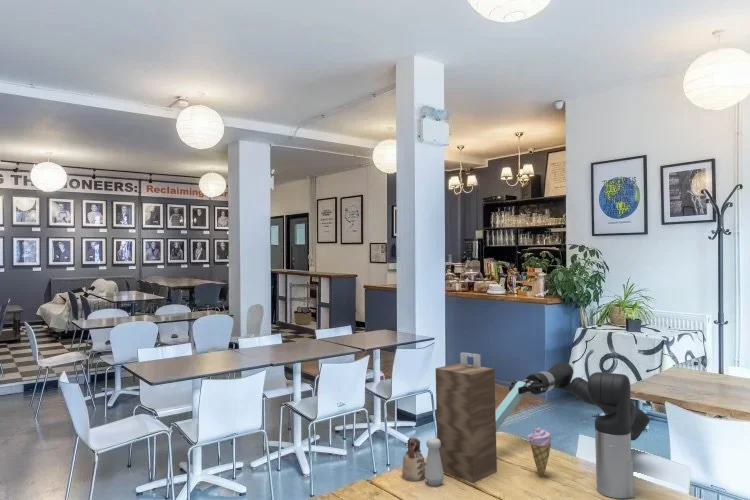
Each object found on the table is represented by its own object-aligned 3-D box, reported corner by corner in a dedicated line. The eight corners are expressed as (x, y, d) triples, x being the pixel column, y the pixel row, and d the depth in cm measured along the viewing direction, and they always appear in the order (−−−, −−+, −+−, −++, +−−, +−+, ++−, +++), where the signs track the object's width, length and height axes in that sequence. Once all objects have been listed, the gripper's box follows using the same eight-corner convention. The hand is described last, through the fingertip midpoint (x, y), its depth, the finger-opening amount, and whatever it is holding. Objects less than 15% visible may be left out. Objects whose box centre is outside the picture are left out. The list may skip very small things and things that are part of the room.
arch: (480, 368, 163) (480, 354, 163) (477, 368, 162) (477, 355, 162) (463, 365, 168) (463, 352, 168) (460, 366, 167) (460, 352, 167)
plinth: (496, 471, 161) (494, 368, 162) (473, 482, 153) (470, 374, 154) (461, 459, 171) (459, 363, 172) (437, 469, 163) (435, 368, 164)
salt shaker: (443, 488, 149) (442, 443, 150) (423, 486, 151) (422, 442, 151) (444, 479, 155) (443, 436, 156) (425, 478, 156) (425, 435, 157)
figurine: (428, 473, 160) (427, 435, 160) (421, 483, 153) (420, 442, 154) (406, 470, 163) (406, 432, 163) (399, 479, 156) (398, 439, 156)
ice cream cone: (527, 477, 156) (525, 427, 156) (531, 470, 161) (529, 422, 162) (550, 481, 153) (548, 430, 153) (553, 473, 158) (551, 424, 159)
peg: (520, 387, 186) (518, 381, 185) (527, 389, 184) (525, 382, 183) (486, 432, 172) (483, 425, 171) (494, 434, 170) (491, 427, 169)
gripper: (558, 396, 187) (532, 404, 176) (524, 389, 198) (497, 397, 186) (557, 375, 188) (532, 382, 176) (523, 369, 198) (497, 376, 187)
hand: (514, 390), depth 181 cm, fingers closed on peg, 3 cm apart
